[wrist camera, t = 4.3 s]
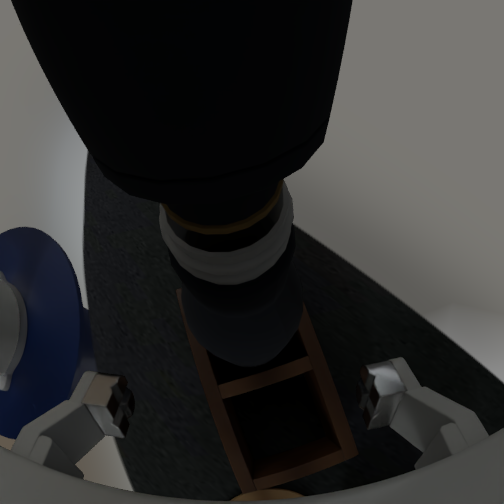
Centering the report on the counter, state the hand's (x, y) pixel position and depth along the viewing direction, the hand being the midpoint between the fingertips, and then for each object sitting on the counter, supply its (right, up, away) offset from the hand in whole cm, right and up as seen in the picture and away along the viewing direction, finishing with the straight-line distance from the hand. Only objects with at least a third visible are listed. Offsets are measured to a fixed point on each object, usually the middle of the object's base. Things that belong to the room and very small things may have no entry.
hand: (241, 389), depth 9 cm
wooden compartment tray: (+2, -8, +18) cm, 20 cm away
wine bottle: (0, -4, +20) cm, 20 cm away
